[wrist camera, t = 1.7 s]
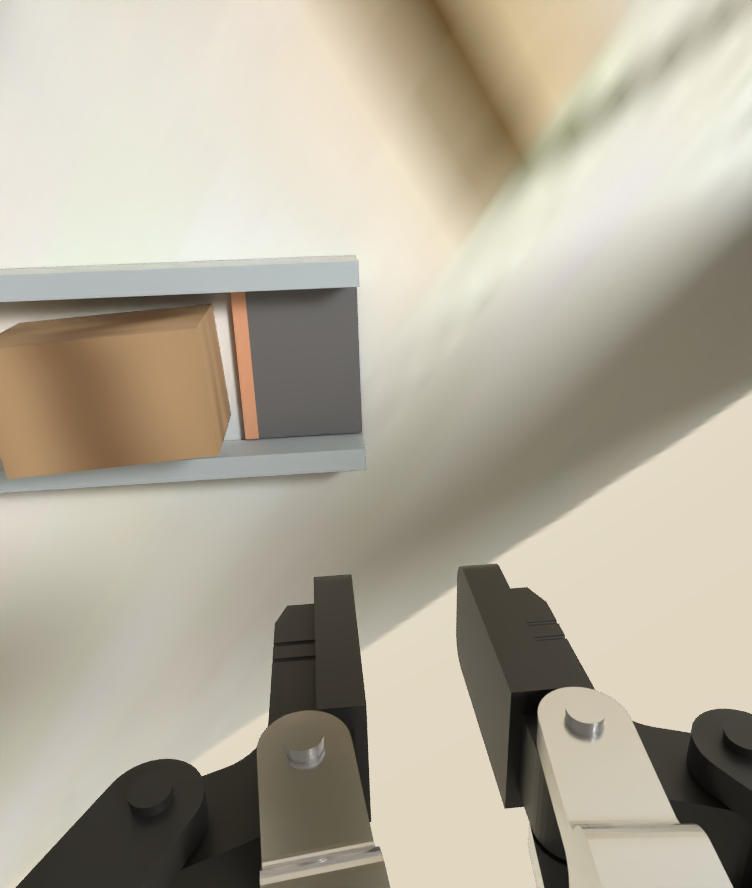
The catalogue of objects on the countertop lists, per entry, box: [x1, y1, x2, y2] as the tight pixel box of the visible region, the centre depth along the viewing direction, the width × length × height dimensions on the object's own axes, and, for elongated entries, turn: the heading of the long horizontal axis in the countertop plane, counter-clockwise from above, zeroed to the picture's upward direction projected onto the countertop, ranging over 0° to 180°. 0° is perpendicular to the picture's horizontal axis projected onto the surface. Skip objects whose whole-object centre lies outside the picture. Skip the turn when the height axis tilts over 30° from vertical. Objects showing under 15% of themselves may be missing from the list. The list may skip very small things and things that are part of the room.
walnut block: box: [0, 304, 231, 479], centre depth 28 cm, size 8×5×5 cm, turn 95°
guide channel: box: [0, 255, 366, 493], centre depth 29 cm, size 20×9×2 cm, turn 92°
